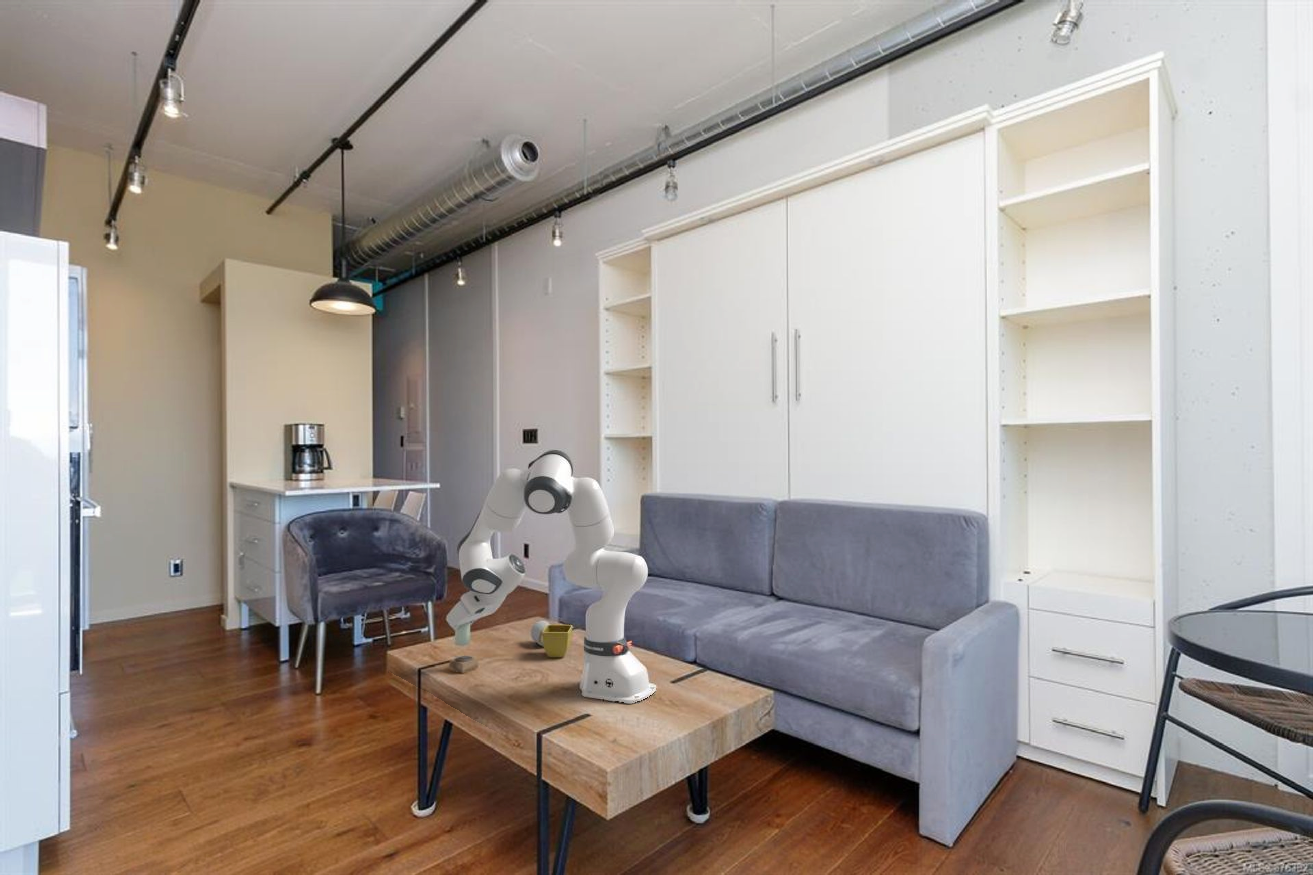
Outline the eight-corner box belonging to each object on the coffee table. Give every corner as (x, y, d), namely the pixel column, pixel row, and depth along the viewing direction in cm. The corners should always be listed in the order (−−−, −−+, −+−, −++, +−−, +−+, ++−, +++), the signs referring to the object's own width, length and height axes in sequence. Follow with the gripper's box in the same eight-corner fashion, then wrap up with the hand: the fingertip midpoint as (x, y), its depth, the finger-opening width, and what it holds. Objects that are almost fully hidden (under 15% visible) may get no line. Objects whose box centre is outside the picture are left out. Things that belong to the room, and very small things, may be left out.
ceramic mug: (538, 649, 220) (539, 627, 220) (530, 643, 227) (530, 621, 227) (567, 645, 225) (568, 623, 225) (558, 639, 232) (559, 618, 232)
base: (477, 668, 201) (477, 658, 201) (462, 673, 196) (462, 663, 196) (464, 664, 204) (464, 654, 204) (449, 670, 199) (449, 659, 199)
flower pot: (568, 660, 209) (568, 632, 209) (541, 659, 209) (541, 632, 210) (572, 651, 218) (572, 624, 218) (546, 651, 218) (546, 624, 218)
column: (472, 643, 200) (473, 608, 200) (461, 646, 197) (462, 611, 197) (463, 640, 203) (463, 606, 203) (451, 644, 199) (452, 608, 199)
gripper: (502, 583, 207) (477, 610, 210) (458, 595, 188) (432, 625, 192) (513, 598, 205) (488, 626, 208) (470, 612, 186) (443, 642, 190)
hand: (461, 626), depth 200 cm, fingers closed on column, 4 cm apart
